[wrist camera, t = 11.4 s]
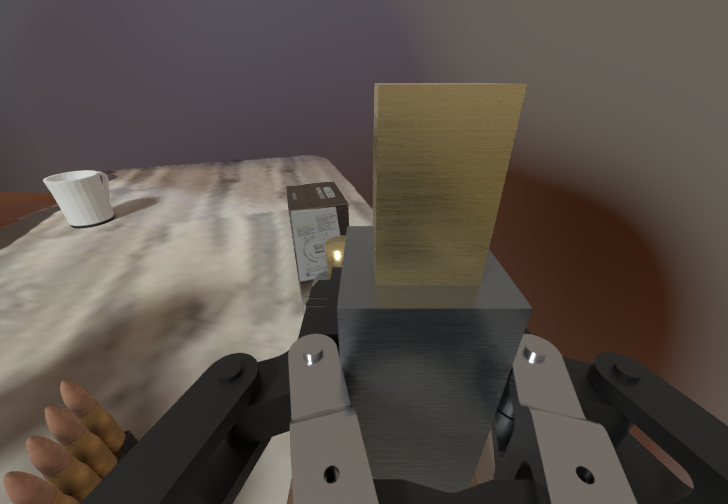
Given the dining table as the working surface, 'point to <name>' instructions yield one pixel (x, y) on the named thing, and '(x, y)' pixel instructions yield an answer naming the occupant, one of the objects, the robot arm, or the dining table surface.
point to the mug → (82, 197)
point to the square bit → (431, 282)
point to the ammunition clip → (70, 452)
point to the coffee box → (314, 228)
